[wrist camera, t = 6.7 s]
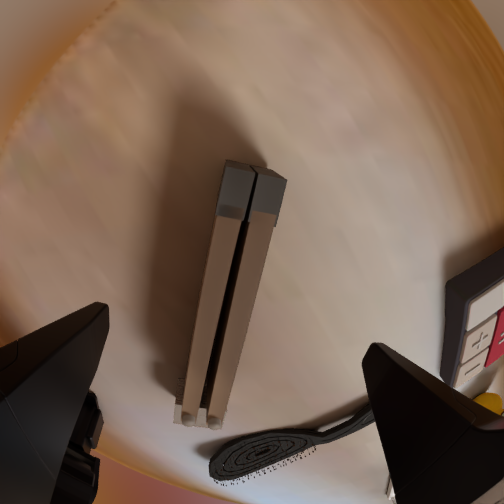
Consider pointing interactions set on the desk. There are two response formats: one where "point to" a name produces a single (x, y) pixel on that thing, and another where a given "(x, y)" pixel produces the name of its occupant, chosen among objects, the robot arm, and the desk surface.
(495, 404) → the duckling
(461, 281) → the calculator
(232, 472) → the hairbrush
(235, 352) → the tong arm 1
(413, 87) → the desk surface
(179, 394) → the tong hinge block
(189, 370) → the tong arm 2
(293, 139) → the desk surface
